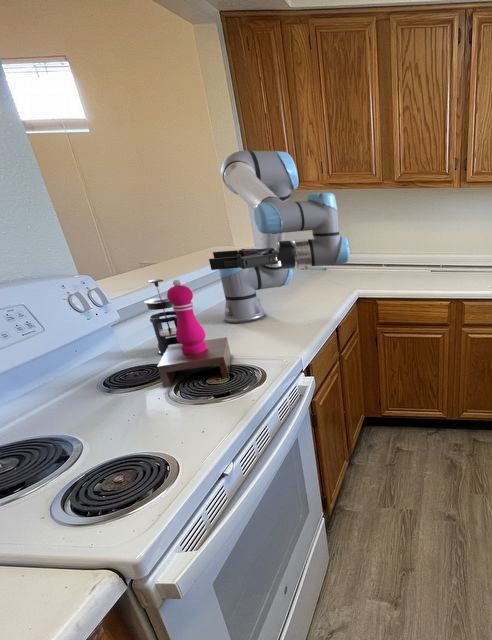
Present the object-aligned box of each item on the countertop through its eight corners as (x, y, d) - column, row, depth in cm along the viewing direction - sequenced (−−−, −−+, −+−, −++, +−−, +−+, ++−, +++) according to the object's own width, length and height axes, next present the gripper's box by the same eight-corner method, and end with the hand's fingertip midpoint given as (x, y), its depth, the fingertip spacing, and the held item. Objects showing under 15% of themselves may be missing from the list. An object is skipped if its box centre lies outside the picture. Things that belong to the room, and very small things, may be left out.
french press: (151, 353, 134) (128, 282, 125) (176, 343, 142) (156, 276, 133) (177, 357, 130) (156, 284, 121) (201, 347, 138) (183, 277, 129)
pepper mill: (197, 355, 114) (177, 282, 106) (174, 354, 115) (153, 282, 107) (214, 346, 120) (197, 277, 112) (192, 345, 122) (174, 276, 114)
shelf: (174, 363, 125) (168, 345, 123) (231, 355, 130) (226, 337, 128) (163, 387, 110) (157, 366, 108) (228, 376, 115) (223, 356, 113)
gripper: (300, 275, 108) (212, 283, 102) (292, 261, 130) (218, 267, 123) (296, 245, 105) (204, 251, 99) (288, 236, 127) (212, 241, 120)
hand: (212, 260), depth 111 cm, fingers open, 13 cm apart
